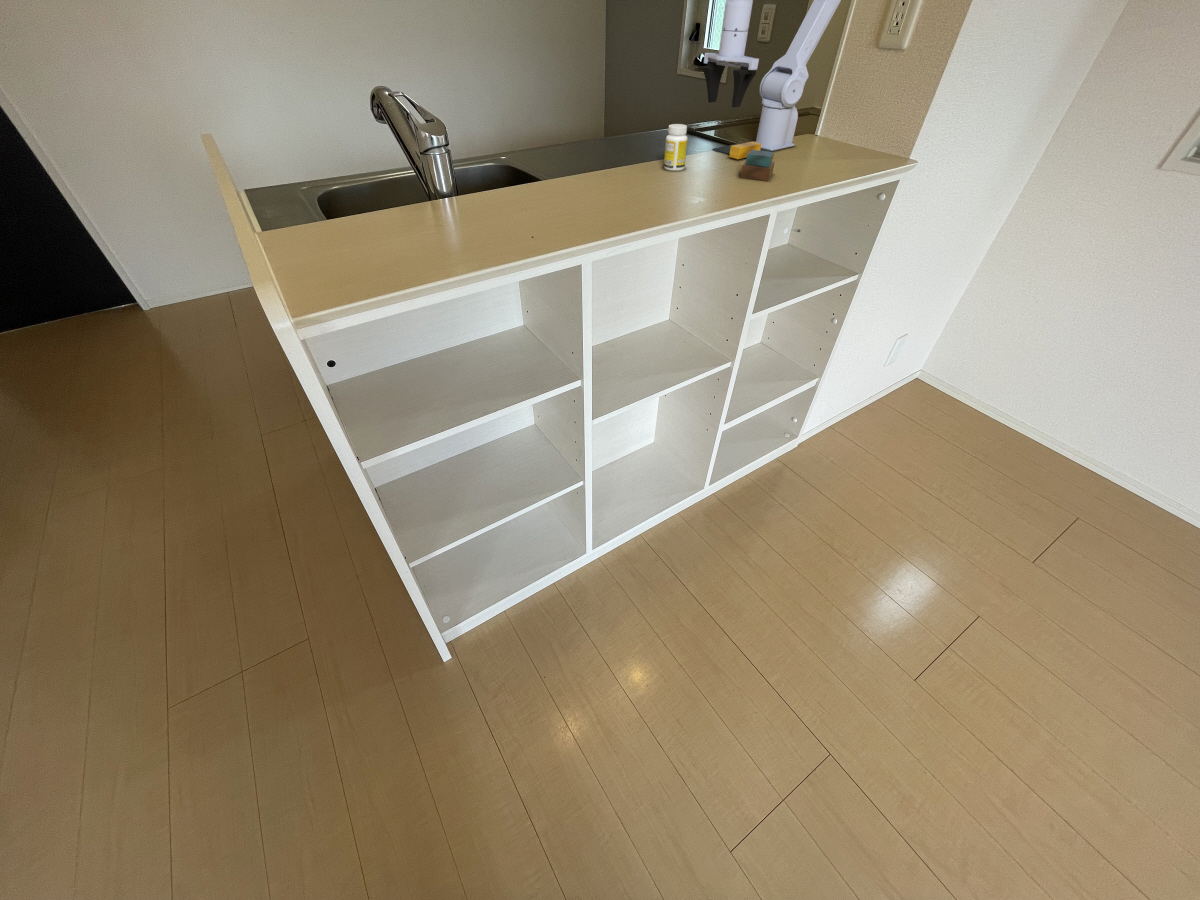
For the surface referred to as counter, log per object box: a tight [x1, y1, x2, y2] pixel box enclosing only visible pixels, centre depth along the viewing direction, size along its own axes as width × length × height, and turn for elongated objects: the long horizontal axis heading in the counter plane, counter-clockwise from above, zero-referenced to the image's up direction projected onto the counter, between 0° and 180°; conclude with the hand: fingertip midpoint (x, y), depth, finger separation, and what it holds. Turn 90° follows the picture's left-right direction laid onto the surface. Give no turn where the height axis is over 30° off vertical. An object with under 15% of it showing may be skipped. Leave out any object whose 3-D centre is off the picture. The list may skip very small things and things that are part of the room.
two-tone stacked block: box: [740, 150, 775, 182], centre depth 111 cm, size 6×6×4 cm
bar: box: [728, 141, 761, 160], centre depth 123 cm, size 8×3×2 cm, turn 127°
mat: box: [712, 140, 780, 156], centre depth 129 cm, size 14×10×1 cm
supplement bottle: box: [663, 123, 688, 172], centre depth 113 cm, size 5×5×8 cm
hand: (723, 104), depth 120 cm, fingers open, 7 cm apart
